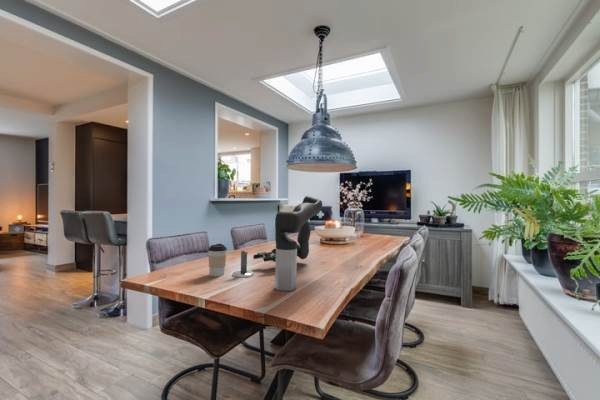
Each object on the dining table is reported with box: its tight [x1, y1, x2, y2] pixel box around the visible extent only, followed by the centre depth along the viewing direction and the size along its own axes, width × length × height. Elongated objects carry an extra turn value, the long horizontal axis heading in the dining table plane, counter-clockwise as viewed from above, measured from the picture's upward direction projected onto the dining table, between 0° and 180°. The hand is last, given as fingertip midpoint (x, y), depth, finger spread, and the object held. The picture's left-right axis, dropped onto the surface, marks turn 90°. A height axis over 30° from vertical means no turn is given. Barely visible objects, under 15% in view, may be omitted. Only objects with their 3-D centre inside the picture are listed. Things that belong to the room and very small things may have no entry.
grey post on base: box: [231, 250, 256, 279], centre depth 146 cm, size 11×11×12 cm
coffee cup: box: [207, 243, 228, 278], centre depth 145 cm, size 9×9×15 cm
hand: (258, 258), depth 153 cm, fingers open, 8 cm apart
